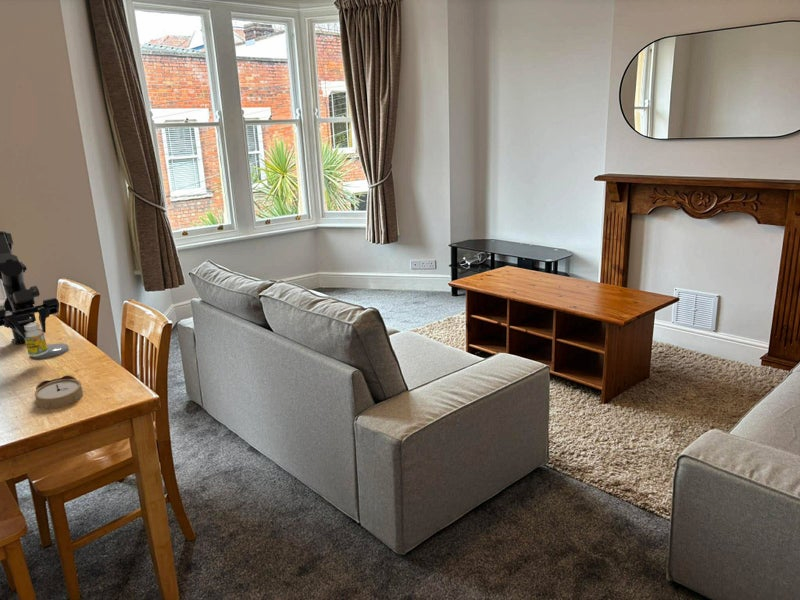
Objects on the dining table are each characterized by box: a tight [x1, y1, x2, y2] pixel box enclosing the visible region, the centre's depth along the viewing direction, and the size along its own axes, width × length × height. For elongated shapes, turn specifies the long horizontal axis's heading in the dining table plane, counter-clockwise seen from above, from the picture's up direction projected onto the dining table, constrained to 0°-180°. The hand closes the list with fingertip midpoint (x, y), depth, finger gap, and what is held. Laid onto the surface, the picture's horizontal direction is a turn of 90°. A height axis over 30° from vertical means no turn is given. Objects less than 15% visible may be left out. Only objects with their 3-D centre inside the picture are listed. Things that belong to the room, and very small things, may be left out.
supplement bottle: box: [24, 322, 48, 357], centre depth 190 cm, size 5×5×10 cm
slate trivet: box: [30, 343, 70, 360], centre depth 201 cm, size 11×11×1 cm
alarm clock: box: [34, 374, 84, 410], centre depth 167 cm, size 11×5×15 cm
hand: (34, 334), depth 188 cm, fingers closed on supplement bottle, 5 cm apart
